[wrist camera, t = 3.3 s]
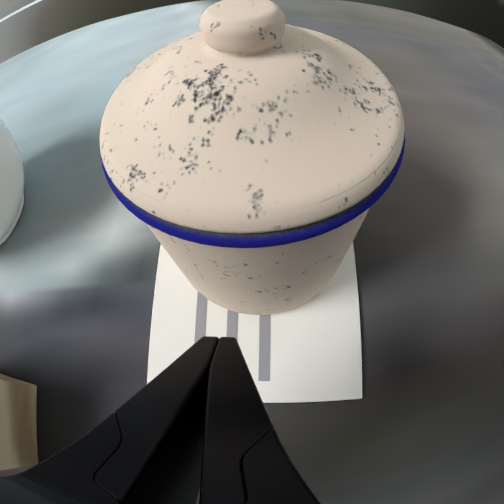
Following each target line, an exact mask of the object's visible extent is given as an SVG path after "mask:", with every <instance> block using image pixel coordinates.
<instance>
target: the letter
mask: <svg viewBox="0 0 504 504" xmlns="http://www.w3.org/2000/svg"><path fill="white" fill-rule="evenodd" d="M203 336H214V337H218V338H220V337H235V338H236V339H237V341H238V344H239V346H240V349H241V351H242V354H243V356H244V358H245V361H246V363H247V366H248V368H249V370H250V373H251V375H252V378H253V380H254V382H255V385H256V387H257V389H258V392H259V394H260V396H261V399H262V401H263V403H286V402H319V401H336V400H350V399H361V398H362V354H361V330H360V313H359V299H358V286H357V275H356V265H355V255H354V246H353V242H352V244H351V246H350V247H349V249H348V251H347V253H346V255H345V257H344V259H343V261H342V262H341V264H340V266H339V268H338V270H337V272H336V273H335V275H334V276H333V278H332V279H331V281H330V282H329V283H328V284H327V286H326V287H325V288H324V289H323V290H322V291H321V292H319V293H318V294H317V295H316V296H315V297H313V298H312V299H310V300H309V301H307V302H306V303H304V304H302V305H300V306H298V307H296V308H293V309H290V310H288V311H284V312H280V313H276V314H268V315H250V314H243V313H238V312H234V311H231V310H228V309H225V308H223V307H221V306H219V305H217V304H215V303H213V302H211V301H210V300H208V299H207V298H205V297H204V296H203V295H202V294H200V293H199V292H198V291H197V290H196V289H195V288H194V287H193V286H192V284H191V283H190V282H189V281H188V279H187V278H186V277H185V275H184V274H183V273H182V271H181V270H180V269H179V267H178V266H177V265H176V263H175V262H174V261H173V259H172V258H171V257H170V255H169V254H168V253H167V251H166V250H165V248H164V247H163V246H162V244H161V246H160V253H159V260H158V268H157V275H156V284H155V292H154V301H153V311H152V321H151V333H150V345H149V359H148V376H147V384H148V383H149V382H150V381H151V380H153V379H154V378H155V377H156V376H157V375H159V374H160V373H161V372H162V371H163V370H164V369H166V368H167V367H168V366H169V365H170V364H171V363H173V362H174V361H175V360H176V359H177V358H178V357H179V356H181V355H182V354H183V353H184V352H185V351H186V350H188V349H189V348H190V347H191V346H192V345H193V344H194V343H196V342H197V341H198V340H199V339H200V338H201V337H203Z"/></svg>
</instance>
